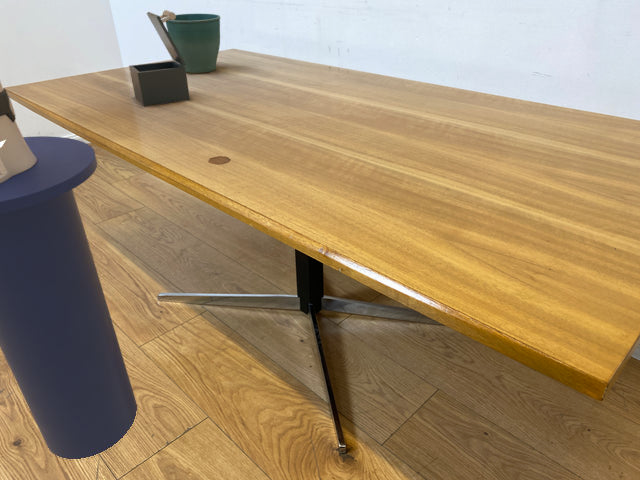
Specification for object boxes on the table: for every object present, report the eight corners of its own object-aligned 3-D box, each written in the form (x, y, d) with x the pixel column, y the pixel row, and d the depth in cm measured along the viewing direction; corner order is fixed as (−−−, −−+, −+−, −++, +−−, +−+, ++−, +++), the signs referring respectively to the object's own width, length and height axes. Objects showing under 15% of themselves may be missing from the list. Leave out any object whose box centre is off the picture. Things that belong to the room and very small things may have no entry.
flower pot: (227, 74, 162) (221, 19, 154) (171, 77, 159) (162, 21, 150) (224, 63, 177) (218, 12, 169) (173, 66, 174) (165, 14, 165)
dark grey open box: (144, 106, 130) (137, 72, 125) (135, 97, 137) (128, 65, 133) (190, 100, 135) (185, 67, 130) (179, 91, 143) (174, 60, 138)
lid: (156, 17, 122) (173, 7, 123) (146, 13, 129) (162, 4, 130) (183, 66, 130) (199, 57, 131) (172, 59, 138) (187, 50, 139)
